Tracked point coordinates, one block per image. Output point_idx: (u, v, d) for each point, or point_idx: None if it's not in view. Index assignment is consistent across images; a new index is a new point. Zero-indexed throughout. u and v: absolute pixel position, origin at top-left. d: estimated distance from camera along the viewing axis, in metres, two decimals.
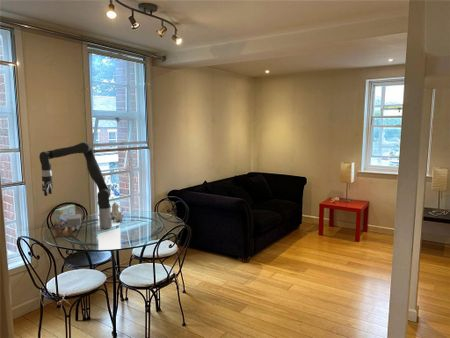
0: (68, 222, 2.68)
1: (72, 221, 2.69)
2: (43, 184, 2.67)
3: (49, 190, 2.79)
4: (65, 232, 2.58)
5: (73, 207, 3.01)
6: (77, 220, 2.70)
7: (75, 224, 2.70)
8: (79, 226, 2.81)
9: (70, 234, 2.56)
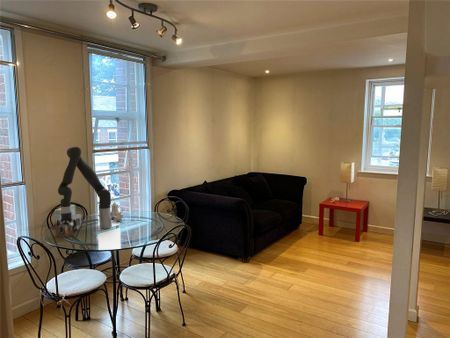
0: None
1: (72, 221, 2.69)
2: (75, 219, 2.62)
3: (61, 228, 2.61)
4: None
5: (73, 207, 3.01)
6: (77, 220, 2.70)
7: None
8: (79, 226, 2.81)
9: (70, 234, 2.56)
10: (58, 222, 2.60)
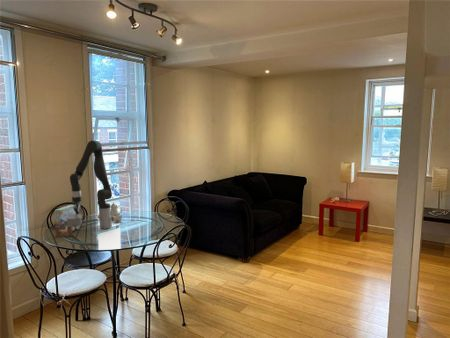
0: (69, 222, 2.69)
1: (73, 221, 2.70)
2: None
3: None
4: None
5: None
6: (78, 220, 2.71)
7: (76, 224, 2.71)
8: None
9: (70, 234, 2.56)
10: (77, 207, 2.83)
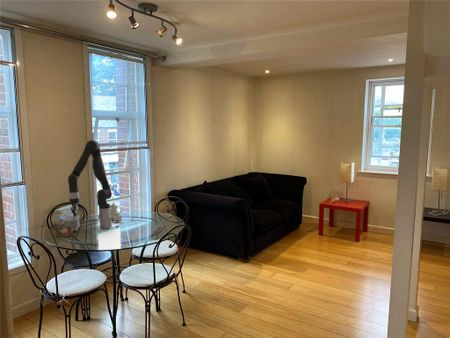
0: (65, 224, 2.63)
1: (69, 223, 2.64)
2: None
3: None
4: None
5: None
6: (74, 222, 2.65)
7: (72, 226, 2.65)
8: None
9: (70, 234, 2.56)
10: (74, 209, 2.77)
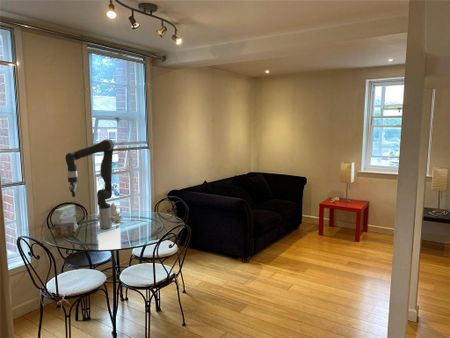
0: (61, 226, 2.56)
1: (66, 225, 2.57)
2: None
3: None
4: None
5: (73, 207, 3.01)
6: (71, 224, 2.58)
7: None
8: None
9: (70, 234, 2.56)
10: (73, 188, 2.74)
